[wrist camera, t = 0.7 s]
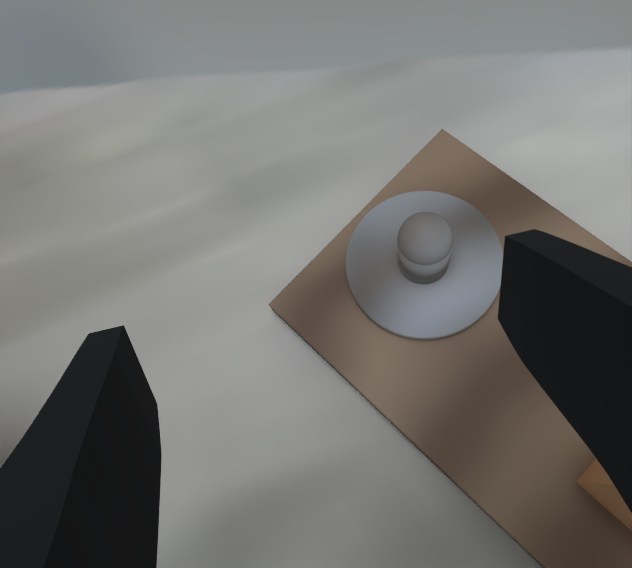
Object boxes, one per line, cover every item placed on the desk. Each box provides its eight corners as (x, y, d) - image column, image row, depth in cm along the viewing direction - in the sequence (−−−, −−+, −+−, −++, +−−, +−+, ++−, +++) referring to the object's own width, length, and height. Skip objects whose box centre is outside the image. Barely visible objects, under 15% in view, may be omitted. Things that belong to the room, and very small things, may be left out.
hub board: (859, 441, 22) (999, 431, 17) (670, 688, 20) (760, 761, 15) (440, 142, 29) (449, 70, 24) (274, 311, 27) (243, 273, 22)
